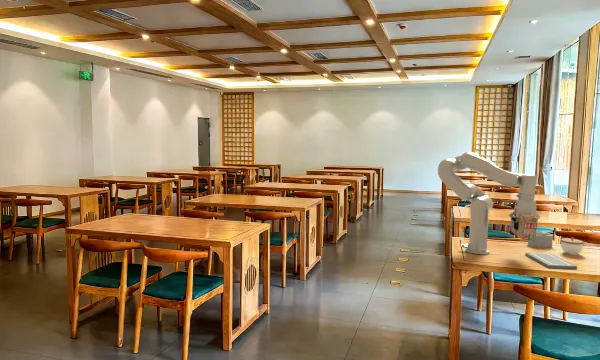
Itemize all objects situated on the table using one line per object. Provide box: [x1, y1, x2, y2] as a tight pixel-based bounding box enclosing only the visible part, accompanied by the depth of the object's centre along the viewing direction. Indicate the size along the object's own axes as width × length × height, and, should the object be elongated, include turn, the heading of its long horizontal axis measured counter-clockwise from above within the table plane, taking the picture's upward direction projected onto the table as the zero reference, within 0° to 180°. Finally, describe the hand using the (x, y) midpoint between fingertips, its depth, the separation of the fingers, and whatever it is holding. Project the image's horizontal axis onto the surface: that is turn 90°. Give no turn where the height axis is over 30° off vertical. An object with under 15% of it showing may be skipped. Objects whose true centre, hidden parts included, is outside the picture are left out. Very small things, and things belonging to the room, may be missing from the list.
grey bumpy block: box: [527, 229, 554, 248], centre depth 257 cm, size 10×13×9 cm
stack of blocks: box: [509, 214, 539, 241], centre depth 224 cm, size 21×6×12 cm, turn 170°
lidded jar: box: [560, 237, 584, 256], centre depth 238 cm, size 11×11×9 cm
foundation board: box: [524, 252, 578, 270], centre depth 221 cm, size 14×24×2 cm, turn 177°
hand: (522, 229), depth 223 cm, fingers closed on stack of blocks, 6 cm apart
